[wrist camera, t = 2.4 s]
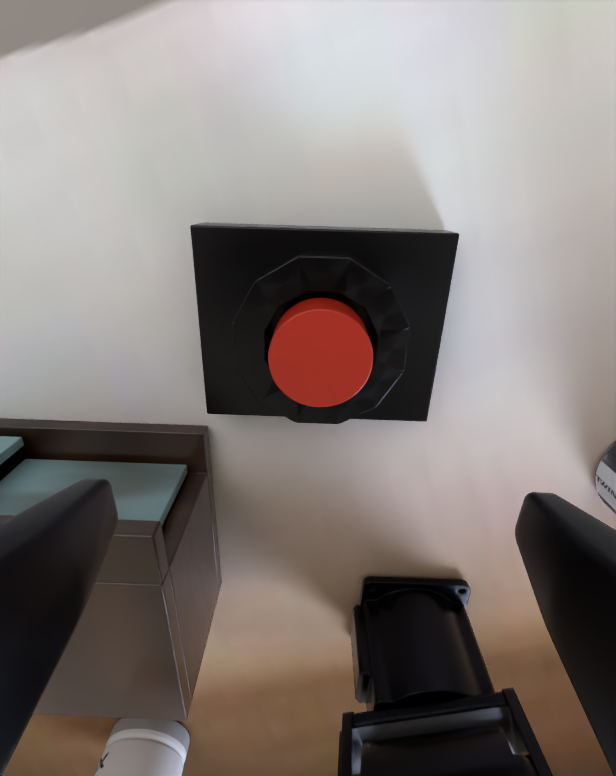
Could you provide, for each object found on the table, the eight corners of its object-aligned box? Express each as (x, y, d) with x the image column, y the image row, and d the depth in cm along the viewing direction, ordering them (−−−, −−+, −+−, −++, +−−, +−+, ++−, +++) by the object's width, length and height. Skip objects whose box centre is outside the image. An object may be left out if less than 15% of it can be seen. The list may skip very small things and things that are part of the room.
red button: (372, 298, 15) (378, 310, 13) (363, 389, 16) (368, 409, 14) (272, 295, 15) (267, 307, 13) (273, 385, 16) (268, 406, 15)
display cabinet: (207, 425, 21) (153, 536, 14) (221, 582, 25) (186, 721, 19) (-142, 412, 21) (-365, 516, 14) (-62, 570, 26) (-199, 705, 19)
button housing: (446, 230, 16) (477, 237, 13) (418, 404, 20) (437, 444, 17) (201, 222, 17) (174, 228, 13) (215, 397, 20) (196, 435, 17)
